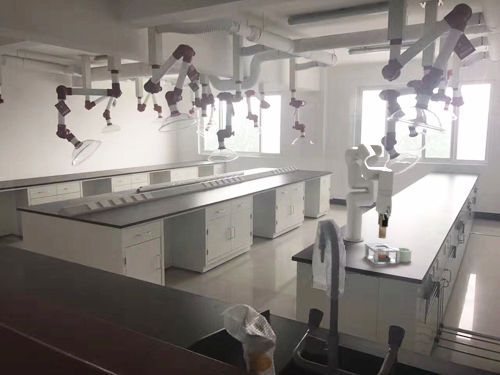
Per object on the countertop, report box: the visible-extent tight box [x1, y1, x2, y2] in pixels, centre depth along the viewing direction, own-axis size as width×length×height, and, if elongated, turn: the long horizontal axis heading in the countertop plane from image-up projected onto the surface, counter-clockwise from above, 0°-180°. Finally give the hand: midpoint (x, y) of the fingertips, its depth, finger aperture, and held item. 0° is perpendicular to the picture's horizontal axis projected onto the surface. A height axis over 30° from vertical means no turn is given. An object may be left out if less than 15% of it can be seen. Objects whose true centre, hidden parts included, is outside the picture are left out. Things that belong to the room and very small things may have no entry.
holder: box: [397, 247, 413, 263], centre depth 218 cm, size 7×7×6 cm
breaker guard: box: [364, 242, 401, 265], centre depth 218 cm, size 14×14×7 cm
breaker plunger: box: [378, 253, 386, 258], centre depth 219 cm, size 5×5×3 cm
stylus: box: [378, 214, 387, 240], centre depth 217 cm, size 4×4×13 cm
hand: (382, 225), depth 217 cm, fingers closed on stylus, 3 cm apart
